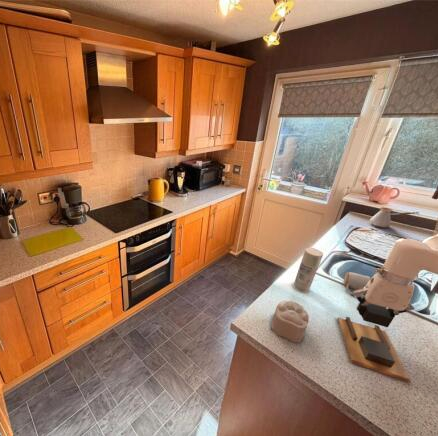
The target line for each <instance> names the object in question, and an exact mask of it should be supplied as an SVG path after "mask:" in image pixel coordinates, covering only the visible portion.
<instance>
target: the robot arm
mask: <svg viewBox="0 0 438 436" xmlns="http://www.w3.org/2000/svg"><path fill="white" fill-rule="evenodd" d="M421 270H423V271H426V272H430V273H433V274H435V275H437V276H438V234H436V235H433V236H430V237H428V238H426V239H424V240H423V241H419V240H416V239H412V238H400V239H397V240H396V241H395V242H394V245H393V246H392V248H391V250H390V252H389V254H388V255H387V257H386V259H385V261H384V263H383V265H382V266H381V267H379V268H378V267H376V268H375V270H374V272H375V274H374V275H372V277H370V280H369V282H368V283H367V285H366V286H365V288H363V289H359V290H352V293H353V294H354V295H355V296H354V297H355V298H356V299H357V301H358V302H359V304H358V305H357V306H356V310H357V312H358V314H359V315H360V316H361V315H363V314H364V312H365V310H366V309H367V307H366V305H368V304H370V303H371V304H375V305H379V306H382V307H386V308H387V310H388V311H389V313H390V315H391V316H392V318H393V319H394V318H395V317H396V316H399V315H400V314H403V313H404V314H405V313H407V312H410V311H414V310H415V309H416V308H415V307H414V306H413V304H412V303H411V299H412V298H413V295H414V291H415V287H416V285H415V284H414V282H415V280H416V278H417V277H418V275H419V273H421ZM361 294H363V295H364V296H363V295H362V296H360V295H361Z"/></svg>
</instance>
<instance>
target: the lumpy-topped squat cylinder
mask: <svg viewBox="0 0 438 436" xmlns="http://www.w3.org/2000/svg"><path fill="white" fill-rule="evenodd" d="M309 322H310V319H309V314H308V312H307V311H306V309H305V308H304V307H303V306H302V305H301V304H299V303H298V302H296V301H292V300H283V301H280V302H278V303H277V304H276V307H275V311H274V314H273V317H272V321H271V330H272V331H273V332H274V333H275V334H276V335H278V336H281V337H283V338H286V339H288V340H289V341H291V342H293V343H300V342H301V341H302V340H303V337H304V335H305V332H306V330H307V328H308V325H309Z"/></svg>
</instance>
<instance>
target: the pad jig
mask: <svg viewBox="0 0 438 436" xmlns="http://www.w3.org/2000/svg"><path fill="white" fill-rule="evenodd" d="M337 322H338V325H339V326H338V327H339V329H340V331H341V334H342V335H341V336H342V338H343V341H344V344H345V346H346V351H347V354H348V357H349V360H350V362H351V363H353V364H356V365H359V366H361V367H364V368H367V369H371V370H373V371H376V372H379V373H382V374H384V375H388V376H391V377H393V378H395V379H399V380H402V381H405V382H410V379H411V378H410V377H409V375H408V372H407V370H406V369H405V367H404V365H403V363H402V362H401V359H400V358H399V356H398V353H397V352H396V350H395V348H394V346H393V344H392V342H391V340H390V338H389V336H388V335H387V332H386V330H382V329H381V327H380V325H377V324H374V327H373V326H369V325H366V324H362V323H359V322H355V321H352V320H351V317H350V316H346V317H345V318H341V317H337Z"/></svg>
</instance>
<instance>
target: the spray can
mask: <svg viewBox="0 0 438 436" xmlns="http://www.w3.org/2000/svg"><path fill="white" fill-rule="evenodd" d="M323 256H324V253H323V252H322V251H321V250H319V249H317V248H315V247H305V249H304V252H303V254H302V258H301V261H300V264H299V267H298V270H297V274H296V276H295V279H294V282H293V287H294V289H295V290H297V291H298V292H301V293H308V292H309V291H310V289H311V286H312V284H313V282H314V279H315V276H316V274H317V271H318V268H319V267H320V264H321V261H322V259H323Z"/></svg>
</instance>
